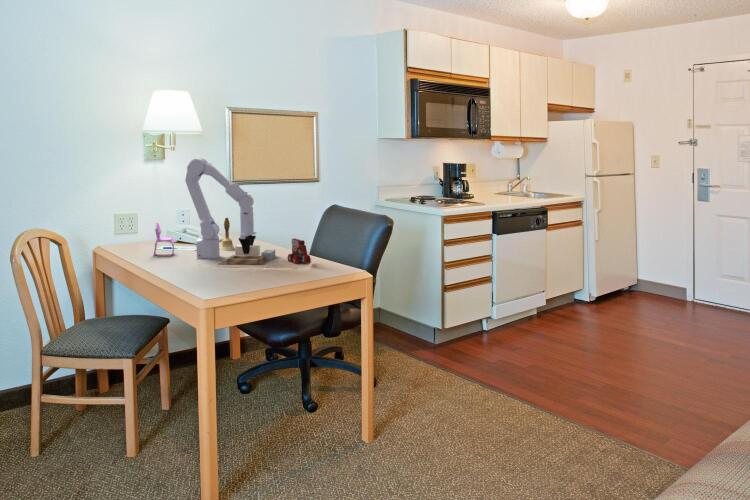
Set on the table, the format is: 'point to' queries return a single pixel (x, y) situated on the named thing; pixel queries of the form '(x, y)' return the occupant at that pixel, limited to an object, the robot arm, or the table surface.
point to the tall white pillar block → (252, 252)
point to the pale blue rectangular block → (268, 254)
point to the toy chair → (161, 238)
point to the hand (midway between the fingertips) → (247, 252)
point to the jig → (244, 260)
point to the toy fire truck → (299, 252)
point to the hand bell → (227, 238)
